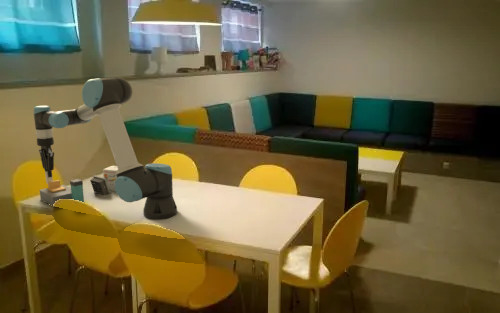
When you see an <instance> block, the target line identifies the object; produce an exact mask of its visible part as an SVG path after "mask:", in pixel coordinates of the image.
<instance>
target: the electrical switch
mask: <svg viewBox="0 0 500 313" xmlns="http://www.w3.org/2000/svg"><path fill="white" fill-rule="evenodd" d="M92 177H93V178H91V179H90V180H89V181H90V184H91V187H92V190H93V192H94V193H95V194H99V195H102V196H105V195H107V194H111V191H110V189H109V186H108V183H107V180H106V178H104V176H98V175H93V176H92Z"/></svg>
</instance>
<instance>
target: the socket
mask: <svg viewBox="0 0 500 313" xmlns="http://www.w3.org/2000/svg"><path fill="white" fill-rule="evenodd" d="M60 186H62V187H64V188H66V190H63V191H58V192H51V191H49V190H48V187H46V188H42V189H39V197H40V200H41V201H42V200H43V202H44V201H45V202H44V203H46V204H47V203H48V204H47V205H49V204H50V205H49V206H51V205H52V206H53V204H54V203H55V201H57V200H59V199H72V194H71V187H69V186H68V185H67V186H66V185H65V184H62V185H61V184H60ZM52 206H51V207H52Z"/></svg>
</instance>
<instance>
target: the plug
mask: <svg viewBox="0 0 500 313" xmlns="http://www.w3.org/2000/svg"><path fill="white" fill-rule="evenodd" d="M83 181H84V180H82V179H80V178H75V179H72V180H69V184H70V188H71V194H72V199H74V200H79V201H82V202H84V203H85V200H84V199H85V197H84V188H83V186H84V185H83Z"/></svg>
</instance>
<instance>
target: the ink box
mask: <svg viewBox="0 0 500 313" xmlns="http://www.w3.org/2000/svg"><path fill="white" fill-rule="evenodd" d="M117 171H118V167H117V165H111V166H108V167H106V168H103V169H102V173H103V176H102V177H104V178H106V180H107V183H108V186H109V189H110V192H111V191H112V192H116V191H115V187H114V185H115V180H116V179H117V176H116V173H117Z"/></svg>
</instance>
